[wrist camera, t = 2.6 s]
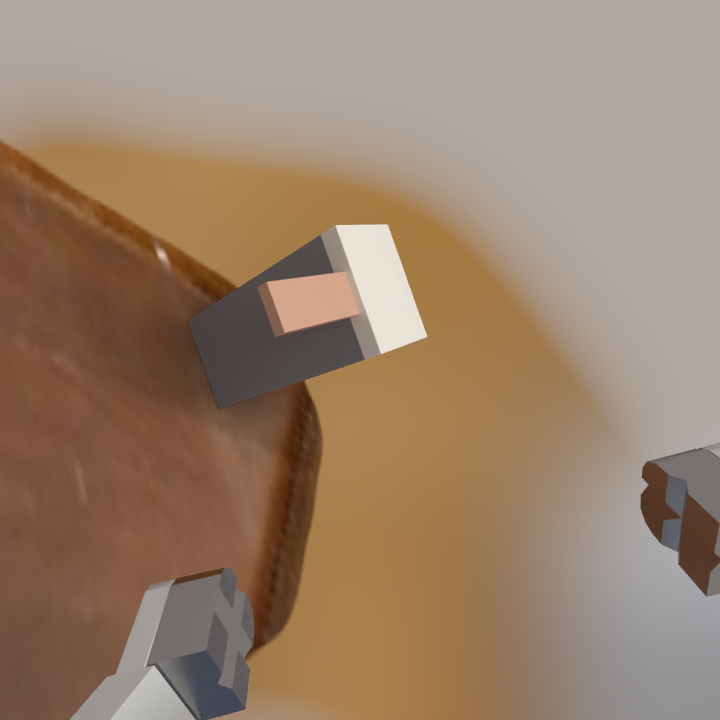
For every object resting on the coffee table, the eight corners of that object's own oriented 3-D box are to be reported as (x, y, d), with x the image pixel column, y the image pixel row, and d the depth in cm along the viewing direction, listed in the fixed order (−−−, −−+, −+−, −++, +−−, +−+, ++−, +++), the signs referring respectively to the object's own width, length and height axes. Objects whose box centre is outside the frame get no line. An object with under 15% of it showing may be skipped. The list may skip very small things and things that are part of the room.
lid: (292, 386, 35) (309, 380, 34) (239, 237, 35) (254, 226, 34) (411, 342, 48) (427, 336, 46) (373, 233, 48) (387, 224, 46)
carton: (218, 409, 59) (364, 359, 42) (187, 320, 59) (320, 234, 42) (266, 391, 65) (411, 342, 48) (238, 311, 65) (373, 233, 48)
